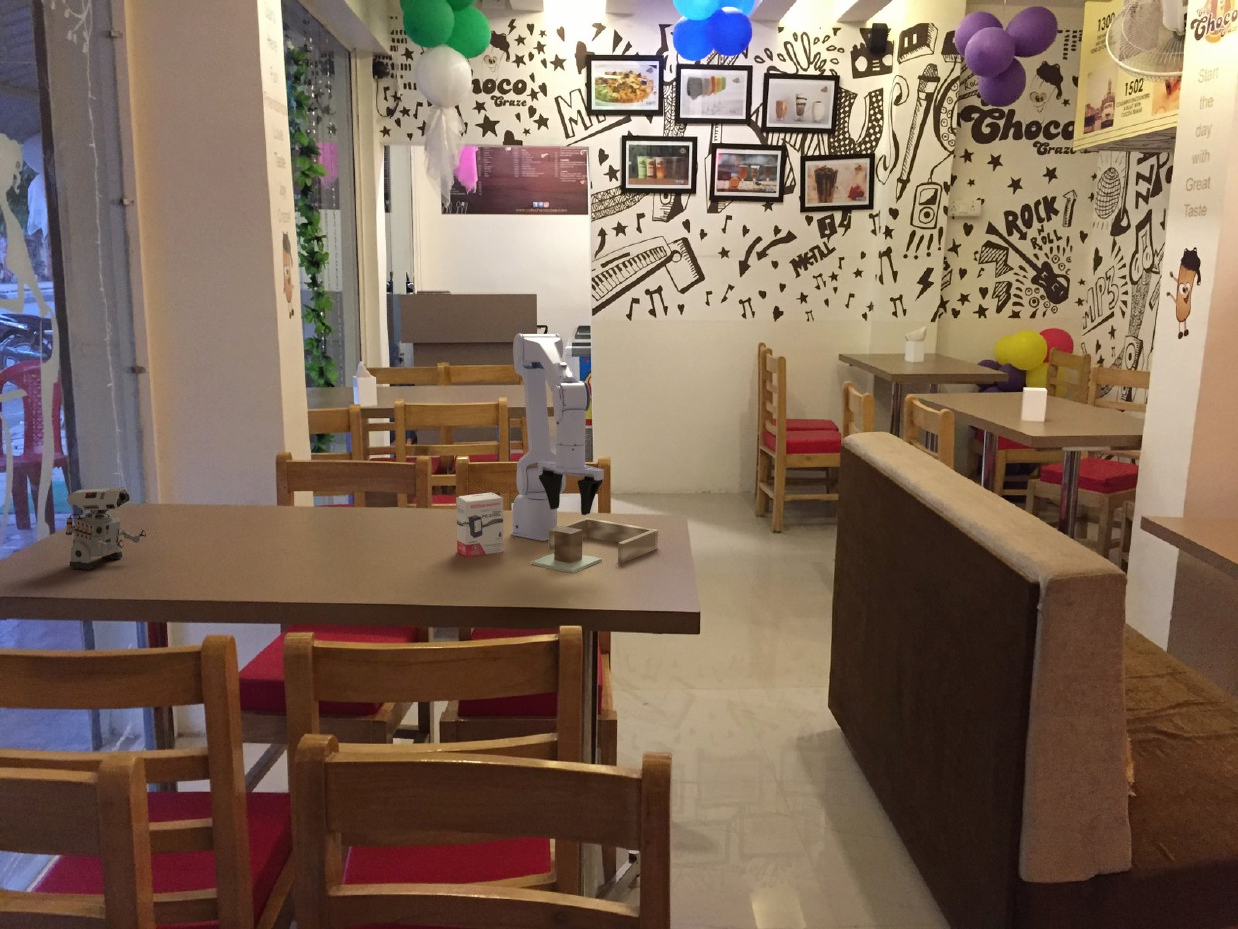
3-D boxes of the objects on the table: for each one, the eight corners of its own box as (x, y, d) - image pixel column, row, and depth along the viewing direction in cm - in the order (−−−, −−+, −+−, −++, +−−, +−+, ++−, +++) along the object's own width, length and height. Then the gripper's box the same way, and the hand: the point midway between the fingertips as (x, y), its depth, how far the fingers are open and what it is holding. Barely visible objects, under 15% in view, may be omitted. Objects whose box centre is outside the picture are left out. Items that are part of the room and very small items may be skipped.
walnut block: (554, 560, 199) (554, 530, 198) (565, 555, 203) (566, 526, 202) (570, 563, 197) (570, 533, 196) (582, 558, 201) (582, 529, 199)
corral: (548, 548, 210) (548, 530, 209) (585, 535, 221) (586, 517, 221) (623, 563, 200) (623, 543, 199) (657, 548, 212) (658, 529, 211)
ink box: (466, 558, 202) (465, 500, 200) (456, 552, 206) (455, 496, 204) (504, 552, 207) (504, 496, 204) (493, 546, 211) (493, 491, 209)
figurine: (114, 573, 187) (108, 495, 184) (63, 568, 190) (56, 491, 187) (148, 560, 196) (143, 485, 193) (98, 555, 199) (92, 481, 196)
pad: (531, 564, 198) (531, 561, 198) (561, 553, 206) (561, 550, 206) (573, 573, 193) (573, 570, 193) (601, 561, 201) (601, 558, 201)
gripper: (528, 442, 197) (528, 509, 199) (589, 450, 189) (588, 520, 192) (550, 437, 203) (549, 503, 205) (610, 445, 195) (609, 513, 197)
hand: (570, 511), depth 199 cm, fingers open, 7 cm apart
